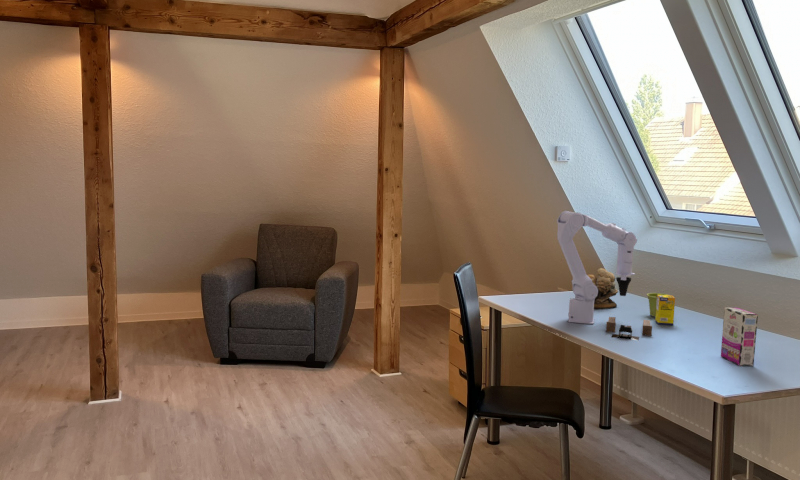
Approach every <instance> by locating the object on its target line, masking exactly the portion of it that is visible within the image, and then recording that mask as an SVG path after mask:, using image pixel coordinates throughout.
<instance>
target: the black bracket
mask: <svg viewBox="0 0 800 480" xmlns="http://www.w3.org/2000/svg"><path fill="white" fill-rule="evenodd" d="M633 331H634V330H633V328H632V325H625V324H621V325H620V327H619V329H618V334H617V333H612V334H611V336H610V337H611V338H614V339H622V340H623V339H624V340H631V341H633V340H634V341H639V340H640V336H635V335H633ZM623 332H624V333H623ZM625 333H626V334H625ZM627 333H628V334H627Z"/></svg>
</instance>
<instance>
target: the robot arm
mask: <svg viewBox="0 0 800 480" xmlns="http://www.w3.org/2000/svg"><path fill="white" fill-rule="evenodd" d="M556 223H557V231H556V233H557V234H556V238H557V241H558V245H559V246H560V249H561V252H562V254H563V255H564V258H565V261H566V265H567V266H568V269H569V271H570V275H571V276H572V280H571V285H572V292H573V294H574V297H575V298H570V299H569V305H568V307H569V308H568V315H567V316H568V323H578V324H587V325H588V324H589V325H594V323H595V320H596V319H595V318H594V312H595V311H594V310H595V309H594V300H595V298H596V297H597V295H598V288H597V287H596V286H595V285H594V284H593V282H592V280H591V279H590V278H589V277H588V275H589V274H587V272H586V269H585V266H584V264H583V261H582V258H581V256H580V255H579V251H578V248H577V247H576V243H575V242H574V237H575V235H576V234H577V233H578V232H579V231H580V229H582V227H589V228H591V229H593V230H596V231H598V232H601V235H602V237H603V238H605V239H608V240H610V241H613V242H615V244H617V260H616V261H617V262H616V272H615V276H616V275H617V277H615V281H617V285H618V293H619V296H620V297H626V295H627V293H628V288H629V285H630V283H631V281H632V277H631V276H636V275H635V274H636V273H635V272H633V260H634V259H633V257H634V249H635V245H636V244H637V242H638V238H636V235H635V233H634V232H631V231H627V230H626V229H625V228H624V227H622V228H621V227H619V226H617V224H616V223H614V222H611V223H603V222H601V221H599V220H597V219H596V218H593V217H591V216H589V215H587V214H583V213H581V212H574V211H573V212H572V211H568V210H564V211H562V212H561V213H560V214H559V216H558V217H557V219H556Z"/></svg>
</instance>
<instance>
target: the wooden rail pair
mask: <svg viewBox="0 0 800 480" xmlns="http://www.w3.org/2000/svg"><path fill="white" fill-rule="evenodd" d="M642 323H643V324H642V330H641V331H642V332H641V335H642V336H648V337H652V334H653V325H652V324H651V320H649V319H643V321H642ZM616 324H617V323H616V317H615V316H608V320H607V321H606V325H605V327H606V328H605V332H606V333H613V334H616V327H617V326H616Z"/></svg>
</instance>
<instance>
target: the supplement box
mask: <svg viewBox="0 0 800 480" xmlns="http://www.w3.org/2000/svg"><path fill="white" fill-rule="evenodd" d="M675 304H676V297H674V295H670V294H668V295H657V302H656V317H655V319H654V322H655V323H656V324H657V325H660V326H661V325H663V326H674V320H675V319H674V318H675Z"/></svg>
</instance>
